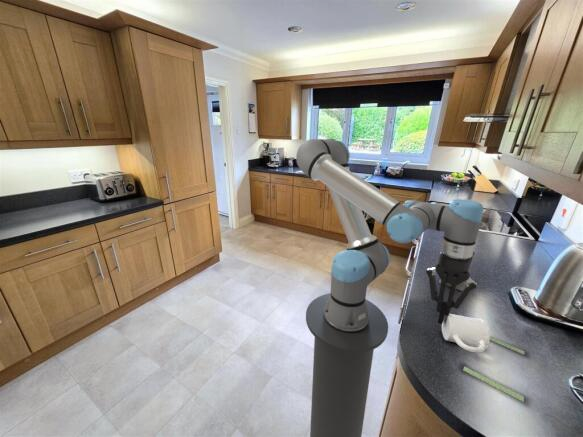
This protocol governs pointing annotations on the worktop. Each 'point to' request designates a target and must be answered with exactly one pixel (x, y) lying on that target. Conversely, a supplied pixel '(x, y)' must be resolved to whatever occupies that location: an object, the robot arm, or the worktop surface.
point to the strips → (493, 381)
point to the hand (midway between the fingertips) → (440, 321)
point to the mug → (466, 332)
